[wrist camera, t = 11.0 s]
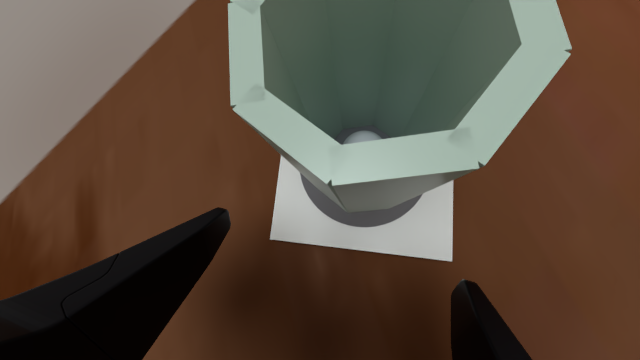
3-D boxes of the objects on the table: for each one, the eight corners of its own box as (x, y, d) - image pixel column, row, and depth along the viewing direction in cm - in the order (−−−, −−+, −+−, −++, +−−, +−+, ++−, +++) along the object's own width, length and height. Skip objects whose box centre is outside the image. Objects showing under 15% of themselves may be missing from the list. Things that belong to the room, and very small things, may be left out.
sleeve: (371, 232, 16) (415, 254, 4) (295, 170, 17) (173, 63, 6) (433, 152, 16) (633, -27, 5) (353, 99, 18) (350, -139, 6)
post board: (445, 258, 16) (481, 272, 12) (275, 238, 18) (247, 243, 14) (448, 94, 18) (480, 50, 14) (294, 91, 20) (276, 51, 16)
